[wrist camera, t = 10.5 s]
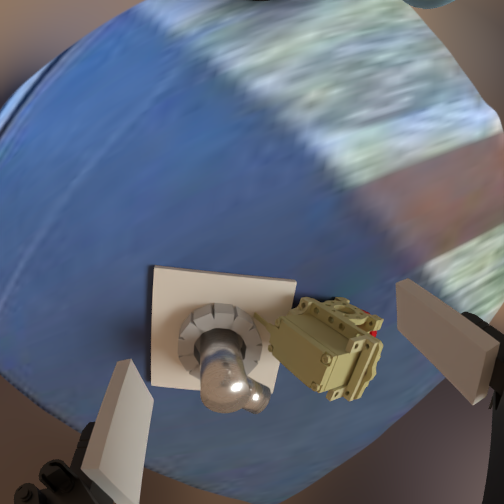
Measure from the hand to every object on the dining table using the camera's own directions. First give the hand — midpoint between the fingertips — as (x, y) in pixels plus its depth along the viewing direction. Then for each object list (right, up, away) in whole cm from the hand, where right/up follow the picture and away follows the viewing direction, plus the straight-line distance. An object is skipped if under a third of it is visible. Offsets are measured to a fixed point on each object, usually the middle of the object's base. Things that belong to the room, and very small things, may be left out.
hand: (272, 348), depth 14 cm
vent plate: (-5, -7, +28) cm, 29 cm away
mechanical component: (+10, -5, +31) cm, 33 cm away
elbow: (-4, -8, +27) cm, 29 cm away
